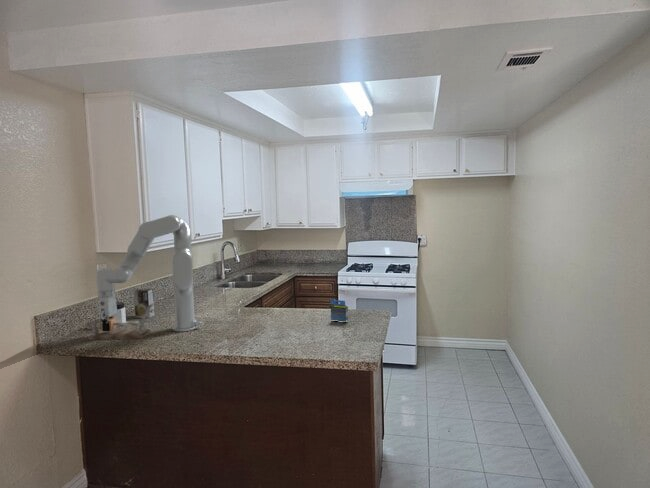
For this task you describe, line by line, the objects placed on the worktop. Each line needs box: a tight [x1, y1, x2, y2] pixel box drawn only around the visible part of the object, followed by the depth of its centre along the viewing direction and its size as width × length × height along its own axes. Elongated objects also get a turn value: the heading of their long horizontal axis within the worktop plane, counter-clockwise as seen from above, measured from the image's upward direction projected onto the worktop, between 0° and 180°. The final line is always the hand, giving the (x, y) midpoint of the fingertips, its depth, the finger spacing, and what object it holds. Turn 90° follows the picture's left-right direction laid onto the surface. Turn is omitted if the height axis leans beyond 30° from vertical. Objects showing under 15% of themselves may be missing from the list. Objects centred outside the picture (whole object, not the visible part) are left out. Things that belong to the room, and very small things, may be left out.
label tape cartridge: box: [330, 299, 349, 321], centre depth 229 cm, size 9×4×12 cm, turn 65°
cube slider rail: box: [86, 318, 151, 341], centre depth 211 cm, size 28×10×8 cm, turn 94°
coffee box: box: [133, 288, 156, 319], centre depth 248 cm, size 9×6×16 cm
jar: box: [114, 301, 127, 328], centre depth 231 cm, size 9×8×12 cm
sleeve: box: [100, 318, 117, 331], centre depth 210 cm, size 5×5×5 cm
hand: (108, 328), depth 211 cm, fingers closed on sleeve, 5 cm apart
